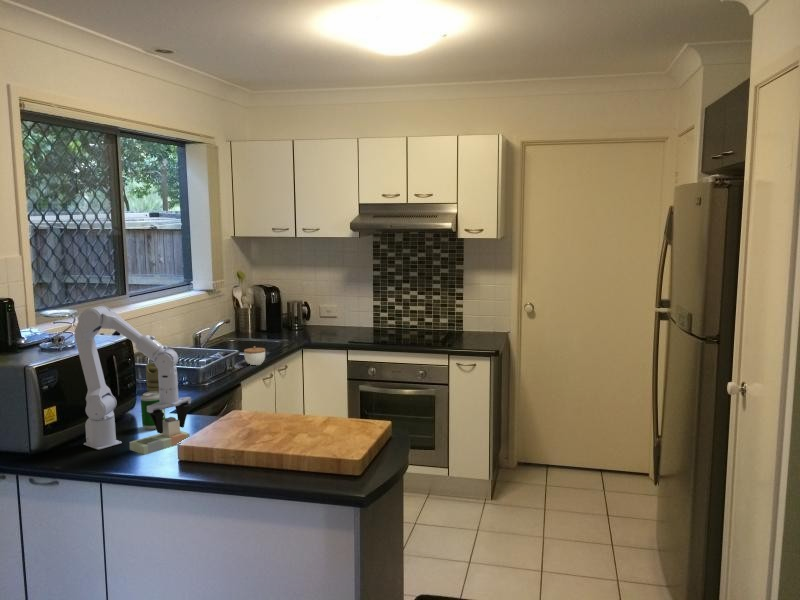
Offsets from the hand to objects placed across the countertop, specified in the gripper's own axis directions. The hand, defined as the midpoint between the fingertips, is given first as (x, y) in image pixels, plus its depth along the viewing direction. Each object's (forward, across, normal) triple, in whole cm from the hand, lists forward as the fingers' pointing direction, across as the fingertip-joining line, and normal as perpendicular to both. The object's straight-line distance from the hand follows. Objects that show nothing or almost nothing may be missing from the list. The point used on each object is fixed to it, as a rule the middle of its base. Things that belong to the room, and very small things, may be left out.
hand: (170, 429), depth 213 cm
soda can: (+4, +6, +20) cm, 21 cm away
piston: (+4, +38, +67) cm, 77 cm away
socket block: (+4, -4, 0) cm, 6 cm away
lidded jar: (+4, +99, +79) cm, 127 cm away
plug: (+4, 0, 0) cm, 4 cm away
